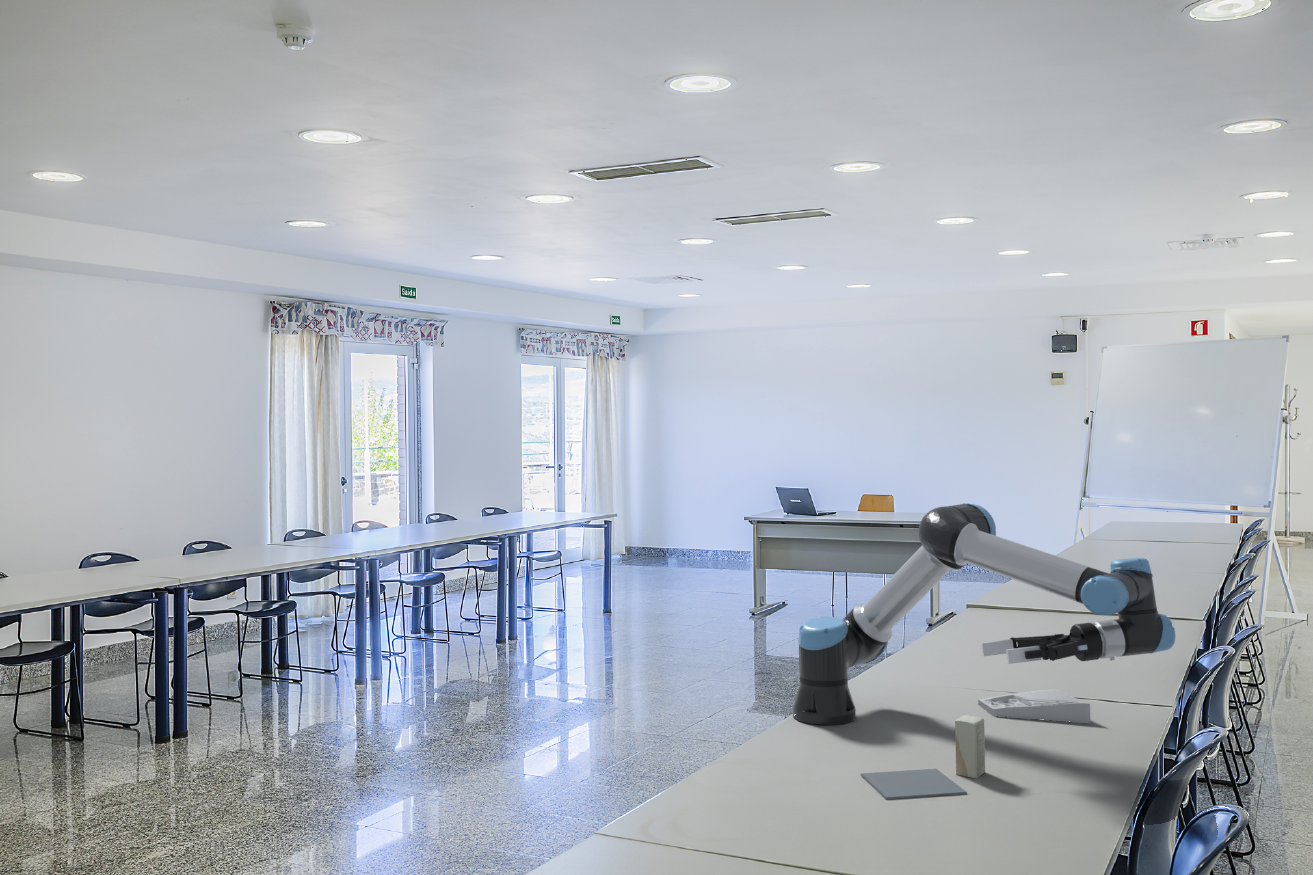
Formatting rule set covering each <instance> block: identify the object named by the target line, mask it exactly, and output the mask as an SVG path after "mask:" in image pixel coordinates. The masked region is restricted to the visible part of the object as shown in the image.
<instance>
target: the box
mask: <svg viewBox="0 0 1313 875" xmlns="http://www.w3.org/2000/svg"><path fill="white" fill-rule="evenodd" d="M954 727H955V728H954V729H955V732H954V733H955V737H954V739H955V741H954V742H955V774H956V775H957V776H962V777H966V778H972V779H978V778H979V777H980V776H981V775H983V774H984V773H986V749H985V748H986V743H985V742H986V741H985V738H986V737H985V718H984V717H979V716H973V715H967V714H964V715H962V716H960V717H959V718H957V719H955V721H954Z"/></svg>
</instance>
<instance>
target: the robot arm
mask: <svg viewBox="0 0 1313 875" xmlns="http://www.w3.org/2000/svg"><path fill="white" fill-rule="evenodd" d="M996 529H997V528H996V522H995V520H994V518H993V516H992V515H991V514H990V512H989V511H988V510H987V509H986V508H984V507H983V506H981V505H978V504H975V503H966V502H965V503H960V504H955V505H948V506H945V505H944V506H938V507H935V508H932V509H931V510H929V511H928V512H927V513H926V514H924V516H923V517H922V518H921V521H920V523H919V525H918V537H919V538H918V539H919V541H920V542H919V543H921V546H920V547H919V548H918V549H917V550H916V551H915V552H914V553H913V554H912V555H911V557H909V558H908V560H907V561H905V563H903V565H902V566H901V567H900V568H899V569H898V570H897V571H896V572H895V573H893V575H892V576H891V577H890V578H889V579H888V581H887V582H885V584H884V585H883V586H882V587H881V588H879V590H878V591H877V592H876V593H875V594H874V595H873V596H872V597H871V598H870V599H869V600H868V601H867V603H866V604H865V603H858V604H856V605H855V606H854V607H853V608H852V609H851V610H850V611H849V612H848V613H847V614H846V615H845V617H843V618H841V617H837V616H836V617H835V616H821V617H815V618H810V619H808V620H806V621H804V622H802V624H800V626H799V630H798V632H799V633H798V638H797V639H798V656H799V657H798V658H799V659H798V660H799V661H798V662H799V663H798V664H799V670H798V671H799V686H798V689H797V691H796V692H797V693H796V696H795V697H794V702H793V704H792V717H793V718H794V719H795V720H796V721H799V722H802V723H805V724H811V725H820V726H822V725H825V726H827V725H828V726H833V725H843V724H847V723H851V722H853V721H854V720H856V717H857V716H856V712H857V709H856V706H855V702H854V701H853V700H854V699H853V697H852V694H851V691H850V688H849V680H848V679H849V677H848V676H849V669H848V668H852V667H855V666H859V665H863V664H867V663H871V662H873V661H875V660H877V659H878V658H880V657H881V655H883V654H884V653H885V651H886V650H887V647H888V643H889V641H890V640H891V638H892V636H893V632H892V629H893V628H895V626H897V624H898V623H899V622H900V621H901V620H902V619H903V618H904V617H905V616H906V615H907V614H908V613H909V612H910V611H911V610H912V609H913V608H914V607H915V606H916V605H917V604H918V603H919V602H920V601H921V600H922V599H924V597H925V596H926V595H928V593H929V592H930V591H931V590H932V589H933V588H934V587H935V586H936V585H937V584H938V583H939V582H940V581H941V580H942V579H943V578H944V577H945V576H946V575H947V574H948V573H949V572H950V571H959V570H961V569H962V568H963V567H964V566H966V564H969V565H972V566H974V567H977V568H980V569H984V570H985V571H989V572H992V573H994V574H997V575H999V576H1002V577H1005V578H1008V579H1011V580H1014V581H1018V582H1020V583H1023V584H1025V585H1027V586H1031V587H1034V588H1036V589H1040V590H1042V591H1046V592H1048V593H1049V594H1050V593H1051V594H1054V595H1056V596H1060V597H1062V598H1064V599H1067V600H1071V601H1074V602H1076V603H1079V604H1082V605H1083V606H1084V607H1085V608H1086V609H1087V610H1088V611H1090V612H1091V613H1092V614H1095V615H1097V616H1111V615H1115V614H1117V617H1118V618H1117V619H1107V620H1106V619H1105V620H1097V621H1093V622H1084V623H1076V624H1075V623H1074V624H1073V625H1072V626H1071V628H1070V630H1069V634H1064V633H1055V634H1052V635H1051V634H1049V635H1042V636H1041V635H1039V636H1038V635H1036V636H1024V637H1023V636H1021V637H1010V638H1009V639H1003V640H995V641H986V642H981V643H980V647H981V653H982V657H989V656H990V657H992V656H998V655H999V656H1000V655H1006V661H1007V664H1008V665H1009V664H1010V665H1012V664H1020V663H1027V662H1035V661H1042V660H1043V661H1048V660H1049V661H1053V662H1054V661H1057V660H1061V659H1065V658H1070V657H1075V658H1076V659H1077V660H1079V661H1080V662H1089V661H1096V660H1099V659H1101V660H1102V659H1103V660H1105V659H1109V660H1110V661H1115V657H1116V658H1119V657H1128V656H1129V657H1130V656H1138V655H1145V654H1146V655H1147V654H1149V655H1151V654H1155V653H1158V652H1159V653H1160V652H1163V651H1168V650H1170V649H1172V648H1173V646H1174V645H1175V643H1176V629H1175V627H1174V625H1173V622H1172V620H1171V618H1169V617H1168V615H1166V614H1163V613H1159V611H1158V607H1157V603H1156V602H1157V601H1156V595H1155V594H1156V593H1155V588H1154V581H1153V577H1154V576H1153V573H1152V569H1151V566H1150V561H1149V560H1148V559H1146V558H1144V557H1133V558H1131V557H1130V558H1122V559H1116V560H1115V559H1114V560H1112V561H1111V562H1110V573H1109V572H1106V571H1103V570H1100V569H1097V568H1092V567H1091V566H1088V565H1085V564H1082V563H1079V562H1075V561H1073V560H1069V559H1067V558H1064V557H1061V556H1059V555H1058V556H1057V555H1055V554H1051V553H1048V552H1045V551H1042V550H1039V549H1036V548H1033V547H1032V546H1031V547H1030V546H1027V545H1025V544H1022V543H1018V542H1015V541H1011V540H1010V539H1006V538H1003V537H1000V536H997V530H996ZM794 714H796V715H795V716H794Z"/></svg>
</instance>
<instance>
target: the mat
mask: <svg viewBox="0 0 1313 875" xmlns="http://www.w3.org/2000/svg"><path fill="white" fill-rule="evenodd" d="M860 776H861V777H862V778H863V780H865V781H866V782H867V783H868V784H870V786H871V787H872V788H873V789H874V790H876V791H877V793H879V795H881V796H882V797H883V798H884V799H885V800H896V799H897V800H898V799H912V798H913V799H914V798H926V797H927V798H929V797H940V796H941V797H942V796H943V797H944V796H957V795H967V794H968V792H967V790H965V789H964V788H962V787H961V786H960V785H958V784H957V783H956V782H955V781H954V780H952V779H950V778H949V777H948V776H946V775H945V774H944V773H943V772H941V771H940V770H939V769H937V768H926V769H925V768H923V769H910V770H897V771H896V770H893V771H892V770H891V771H879V772H878V771H877V772H862V773H860Z"/></svg>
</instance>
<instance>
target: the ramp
mask: <svg viewBox="0 0 1313 875" xmlns="http://www.w3.org/2000/svg"><path fill="white" fill-rule="evenodd" d="M977 702H978V703H977V706H979V707H980V708H982V709H983V710H984V711H985V710H986V713H988V714H989V715H990V716H991V717H993V716H995V717H996V718H1005V717H1007V719H1018V718H1020V720H1031V719H1044V720H1053V721H1052V722H1056V721H1067V722H1066V723H1069V721H1070V722H1077V723H1076V724H1082V723H1090V724H1091V703H1088V702H1082V701H1080V700H1079V699H1076V698H1075V697H1074V696H1071V695H1070V694H1069V693H1066V692H1064V691H1062V690H1061V689H1055V688H1053V689H1052V688H1051V689H1050V688H1049V689H1039V690H1031V691H1023V692H1017V693H1008V694H1003V695H1002V694H1001V695H994V696H990V697H985V698H980V699H977ZM997 716H998V717H997ZM995 717H994V718H995ZM1010 717H1011V718H1010ZM1021 718H1022V719H1021Z"/></svg>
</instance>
